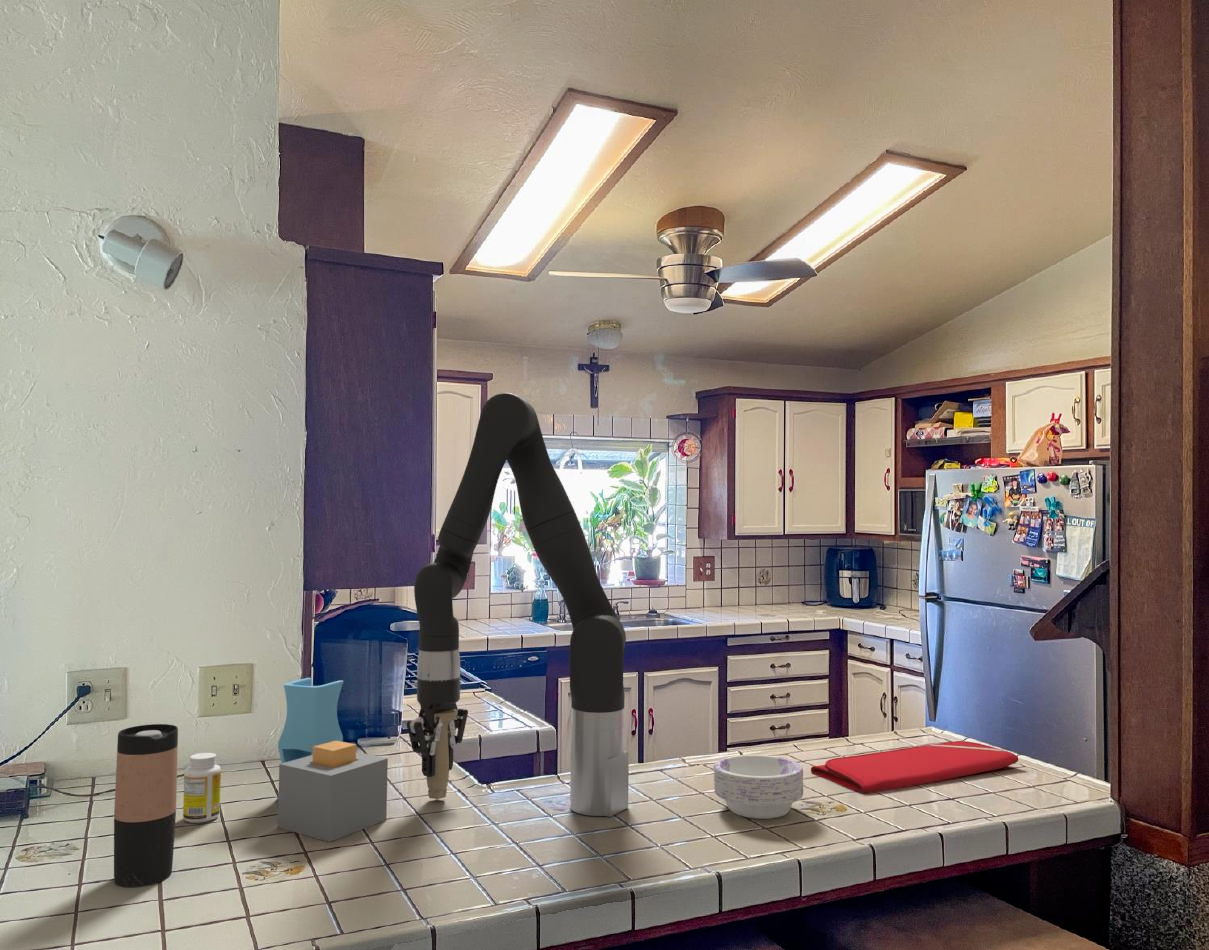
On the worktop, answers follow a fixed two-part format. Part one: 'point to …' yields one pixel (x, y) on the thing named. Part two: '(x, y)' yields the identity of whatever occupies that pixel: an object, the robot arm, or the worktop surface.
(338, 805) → the box
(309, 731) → the vase
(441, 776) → the handle
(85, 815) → the worktop surface
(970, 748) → the dish drying mat
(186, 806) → the supplement bottle
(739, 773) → the paper bowls
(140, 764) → the travel mug
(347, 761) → the button
